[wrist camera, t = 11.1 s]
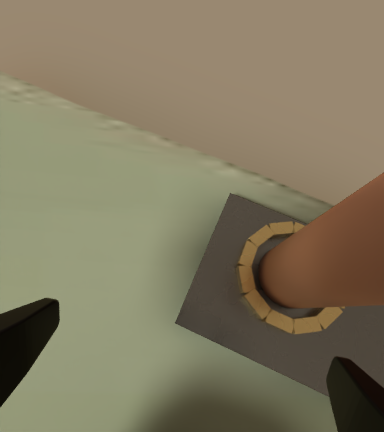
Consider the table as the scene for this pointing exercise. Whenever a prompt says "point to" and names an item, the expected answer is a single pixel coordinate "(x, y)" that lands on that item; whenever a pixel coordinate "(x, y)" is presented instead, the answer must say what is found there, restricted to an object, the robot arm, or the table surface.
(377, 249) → the orange tapered capsule
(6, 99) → the table surface
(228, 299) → the plate
